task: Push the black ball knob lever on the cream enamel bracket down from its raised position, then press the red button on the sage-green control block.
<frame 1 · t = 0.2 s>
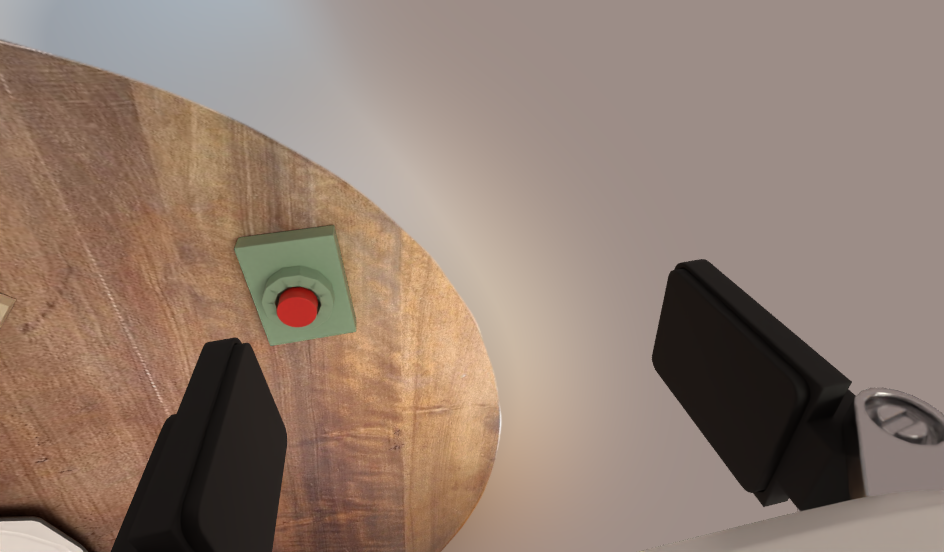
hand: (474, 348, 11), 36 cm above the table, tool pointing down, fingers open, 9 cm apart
start button: (297, 307, 46), point 4 cm above the table, slide at 0.1 cm
button block: (302, 281, 50), on the table
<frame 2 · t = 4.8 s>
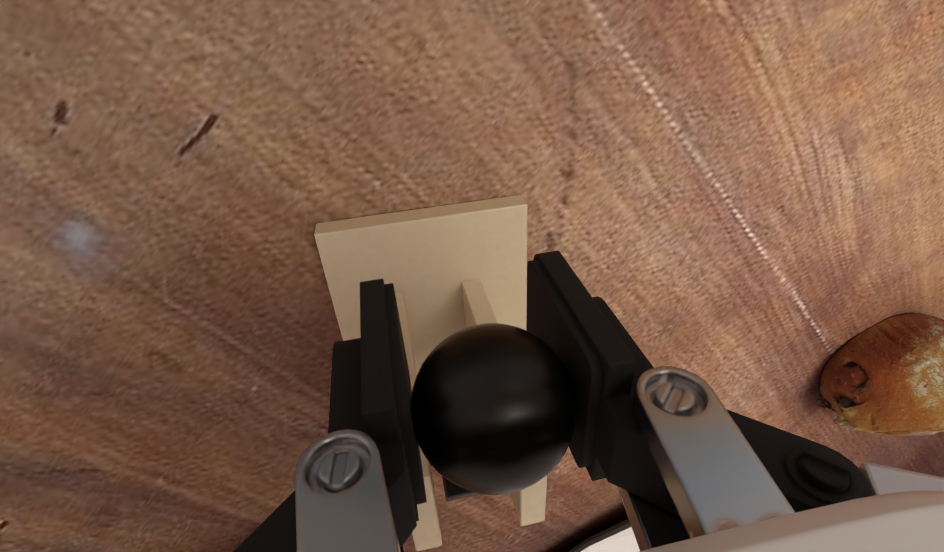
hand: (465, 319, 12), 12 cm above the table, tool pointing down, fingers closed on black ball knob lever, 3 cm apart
bread roll: (867, 360, 38), on the table
black ball knob lever: (477, 441, 14), point 13 cm above the table, hinge at 30.0°, touching gripper
lever bracket: (433, 306, 26), on the table
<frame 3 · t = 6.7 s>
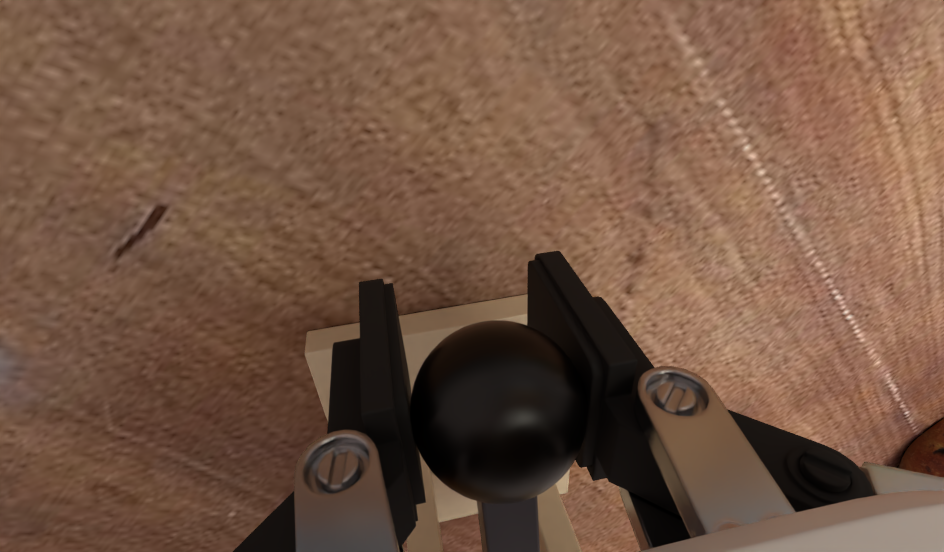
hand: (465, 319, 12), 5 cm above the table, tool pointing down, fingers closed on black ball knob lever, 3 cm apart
lever bracket: (457, 415, 21), on the table
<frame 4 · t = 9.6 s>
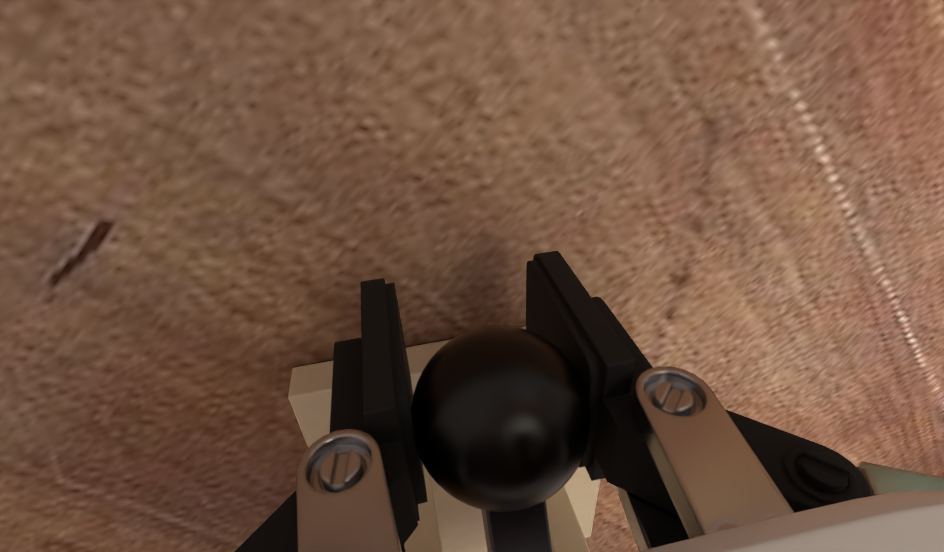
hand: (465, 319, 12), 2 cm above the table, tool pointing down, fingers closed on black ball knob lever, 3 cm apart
lever bracket: (468, 455, 18), on the table
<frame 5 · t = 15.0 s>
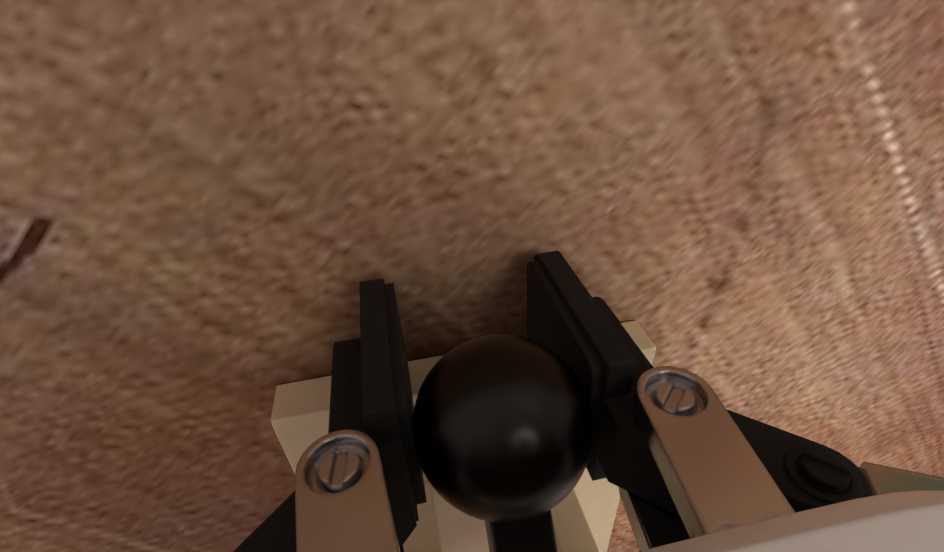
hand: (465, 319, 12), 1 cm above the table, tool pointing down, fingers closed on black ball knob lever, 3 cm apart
lever bracket: (475, 475, 17), on the table
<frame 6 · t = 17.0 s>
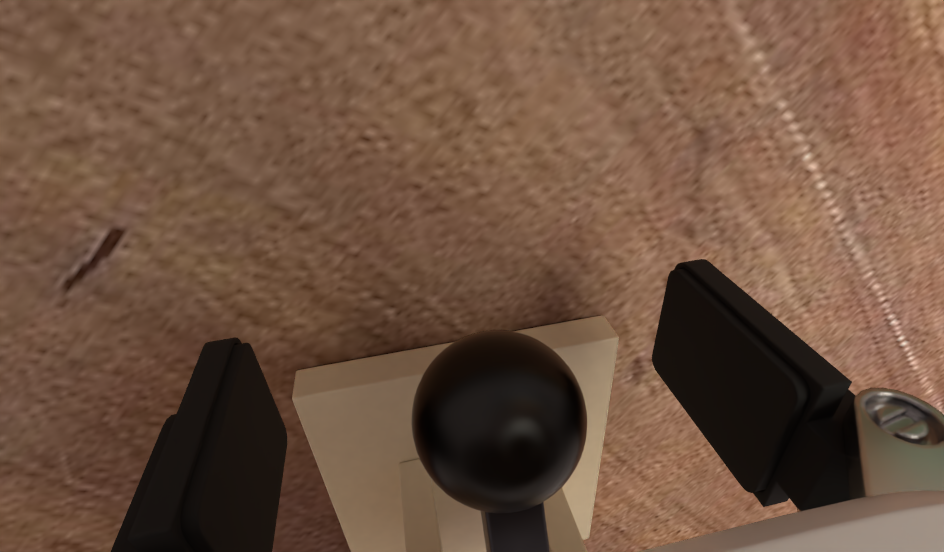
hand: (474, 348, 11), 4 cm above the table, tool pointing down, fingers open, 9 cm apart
lever bracket: (467, 457, 19), on the table
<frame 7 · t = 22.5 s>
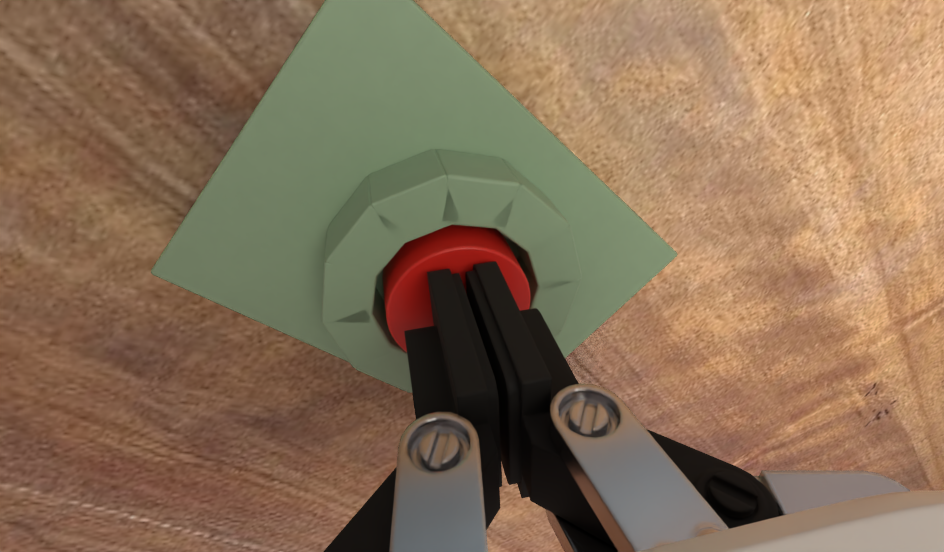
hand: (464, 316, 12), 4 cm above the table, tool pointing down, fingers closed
start button: (454, 291, 12), point 4 cm above the table, slide at -0.8 cm, touching gripper
button block: (435, 228, 15), on the table
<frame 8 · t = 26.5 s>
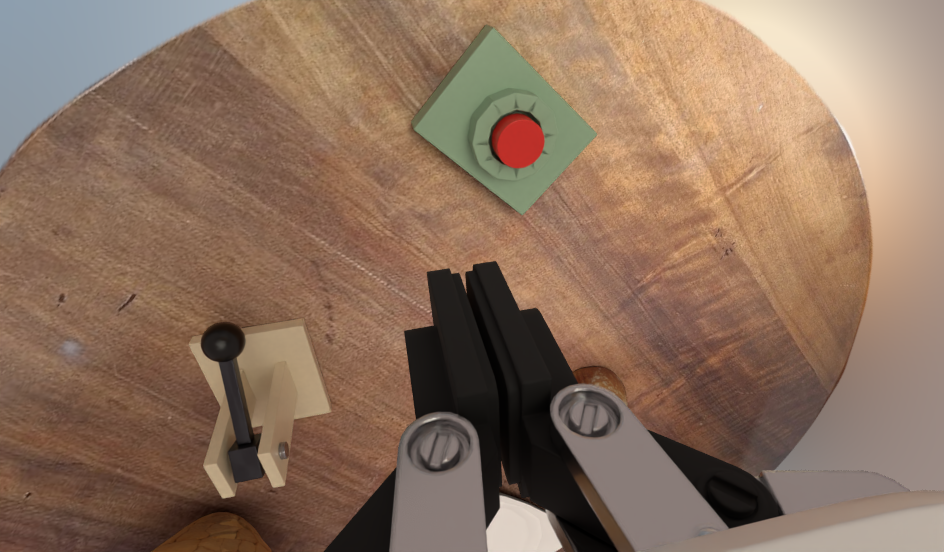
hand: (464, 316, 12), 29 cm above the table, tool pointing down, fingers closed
bread roll: (579, 394, 60), on the table
black ball knob lever: (236, 399, 39), point 8 cm above the table, hinge at -25.1°
lever bracket: (267, 372, 48), on the table
bowl: (222, 513, 58), on the table
plate: (456, 542, 73), on the table
start button: (517, 141, 35), point 4 cm above the table, slide at 0.1 cm
button block: (502, 124, 39), on the table
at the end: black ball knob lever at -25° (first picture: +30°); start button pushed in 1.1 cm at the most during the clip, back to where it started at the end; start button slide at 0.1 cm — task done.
